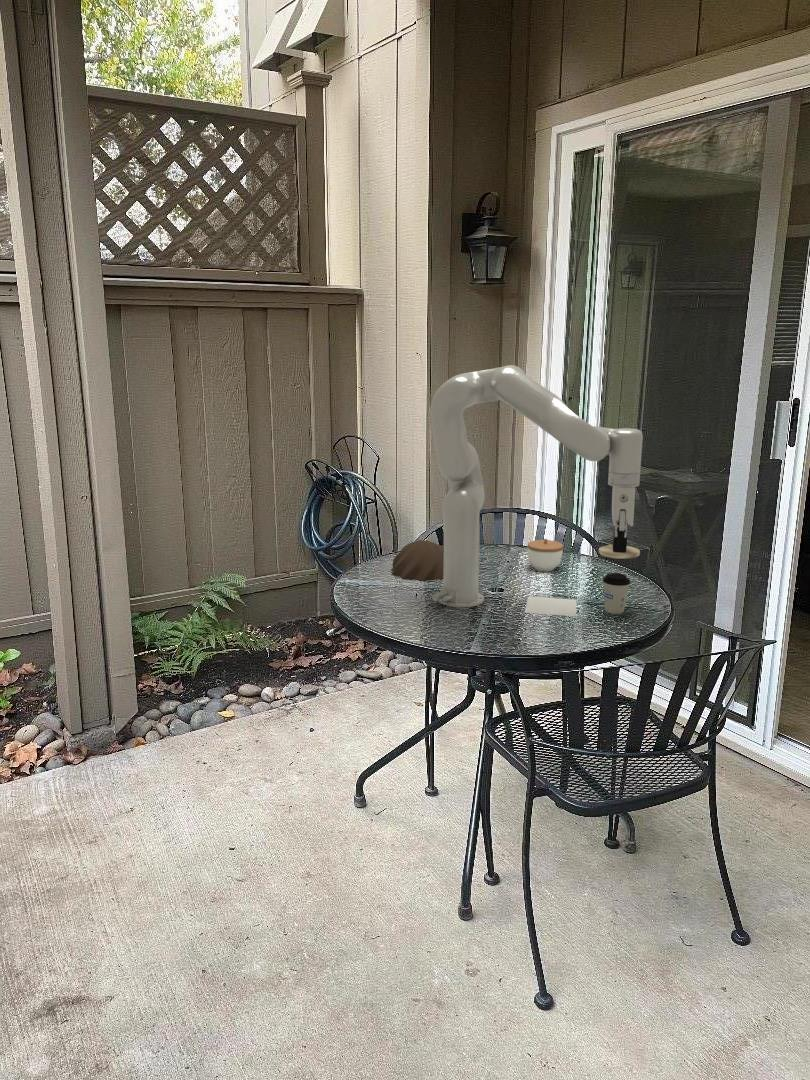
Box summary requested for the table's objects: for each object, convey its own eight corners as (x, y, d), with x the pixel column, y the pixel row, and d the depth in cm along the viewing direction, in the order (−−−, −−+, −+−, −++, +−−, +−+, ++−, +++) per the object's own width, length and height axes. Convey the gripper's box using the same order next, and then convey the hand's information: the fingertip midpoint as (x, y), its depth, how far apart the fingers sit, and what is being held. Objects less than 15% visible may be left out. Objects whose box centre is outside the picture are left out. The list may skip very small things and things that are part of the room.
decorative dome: (377, 573, 236) (377, 541, 233) (420, 559, 250) (420, 529, 248) (426, 586, 223) (426, 552, 221) (468, 571, 238) (469, 539, 235)
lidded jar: (524, 563, 245) (526, 534, 243) (559, 563, 245) (560, 534, 242) (528, 573, 235) (530, 543, 232) (564, 573, 234) (566, 543, 232)
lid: (627, 560, 191) (629, 538, 189) (591, 553, 197) (592, 531, 196) (646, 552, 198) (648, 530, 197) (610, 545, 205) (611, 524, 203)
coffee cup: (624, 608, 205) (627, 571, 203) (631, 617, 198) (634, 580, 196) (597, 607, 205) (600, 571, 203) (603, 617, 199) (606, 579, 196)
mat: (575, 618, 198) (576, 616, 198) (524, 614, 201) (524, 612, 201) (576, 601, 210) (576, 599, 210) (528, 598, 213) (528, 596, 213)
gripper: (641, 485, 184) (636, 560, 189) (637, 473, 200) (632, 542, 204) (609, 484, 186) (604, 558, 191) (607, 472, 201) (603, 541, 206)
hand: (619, 549), depth 198 cm, fingers closed on lid, 3 cm apart
